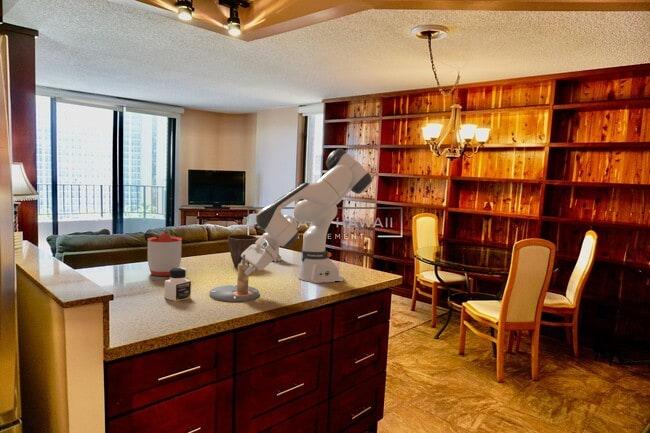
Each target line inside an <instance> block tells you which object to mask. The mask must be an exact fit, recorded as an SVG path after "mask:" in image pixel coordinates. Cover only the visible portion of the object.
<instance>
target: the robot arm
mask: <svg viewBox="0 0 650 433" xmlns="http://www.w3.org/2000/svg"><path fill="white" fill-rule="evenodd" d="M325 164H326V167H327V170H328V171H327V172H324V174H323V175H322V176H321V177H320V178H319V179H317V180H316V181H315V182H314V181H313V182H311V183H310V182H303V183H301V184H299V185H298V186H296V187H294V188H293V189H291V190H290V191H288V192H287V193H285V194H284V195H283V196H281V197H279V198H278V199H277V200H275V201H274V202H272V203H270V204H268V205H266V206H265V207H263V208H261V209H260V210H259V211H258V212H257V214H256V217H255V220H256V225H257V226H258V227H259V228H260V229H261V230H263V231H264V232H263V233H264V234H262V235H261V236H260V237H258V238H257V239H256V242H255V243H256V244H252V245H251V246H249V247H248V248H247V249H246V250H245V251H244V252H243V253H242V254H241V257H242V258H243V255H245V263H246V264H247V263H249V268H248V269H246V270H245V271H244V273H245V274H246V275H249V276H250V274H251V273H252V272H254V271H255V270H256V269H257V270H258V271H262V270H265V268H266V267H267V266H269V265H270V263H272V262H273V261H274V260H273V258H274V259H275V258H276V257H277V256H278V254H277V250H278V249H279V250H280V247H282V248H290V247H291V246H292V245H293V244H294V243H295V242H296V241H297V240H298V238H299V230H298V229H297V228H298V223H297V221H298V222H300V223H306V224H308V223H309V224H310V225H309V227H308V229H306V231H304V233H303V235H302V236H303V239H302V249H301V257H300V258H301V259H300V260H301V265H300V269H299V273H298V276H297V278H298V279H299V280H302V281H305V282H310V283H315V284H320V283H321V284H322V283H323V282H324V283H336V282H335V281H340V282H343V281H344V276H343V275H342V274H340V269H339V266H338V265H337V264H336V263H335V262H333V260H332V259H330V257H332V253H331V252H329V251H328V250H326V244H327V243H326V242H327V235H328V231H329V228H330V225H331V223H332V222H333V220H334V219H335V218H336V217H337V215H338V207H337V206H338V204H340V203H341V202H342V200H344V198H345V197H346V196H347V195H348V193H350V192H353V193H354V194H355V195H356V194H357V195H359V194H360V195H361V194H363V193H365V192H366V191H367V190H368V189H370V187H371V184H372V182H373V178H372V175H371V174H370V172H368V170H366V169H365V167H364V166H363V165H362V164H361V163H360V162H359V161H357V159H355V158H354V157H353V156H351V155H350V154H349V153H348V152H347V151H346V150H344V149H343V148H337V149H335V150H333V151H332V152H330V153H329V155H328V157H327V159H326V160H325ZM299 199H302V200H300V201H298V202H297V203H295V204H294V207H293V215H294V218H295V219H294V218H293V217H292V216H291V215H289V214H283V213H282V212H281V211H282V210H283V209H284V208H286V207H287V206H289V205H290V204H291V203H293V202H295V201H296V200H299ZM272 260H273V261H272ZM242 262H243V260H242V261H241V263H242ZM236 268H237V269H238V267H236Z"/></svg>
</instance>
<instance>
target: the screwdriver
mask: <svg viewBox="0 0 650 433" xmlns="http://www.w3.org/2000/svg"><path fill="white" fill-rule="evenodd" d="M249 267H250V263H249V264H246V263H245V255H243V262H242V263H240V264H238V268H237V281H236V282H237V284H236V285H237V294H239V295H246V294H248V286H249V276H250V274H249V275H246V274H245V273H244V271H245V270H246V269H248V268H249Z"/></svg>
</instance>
